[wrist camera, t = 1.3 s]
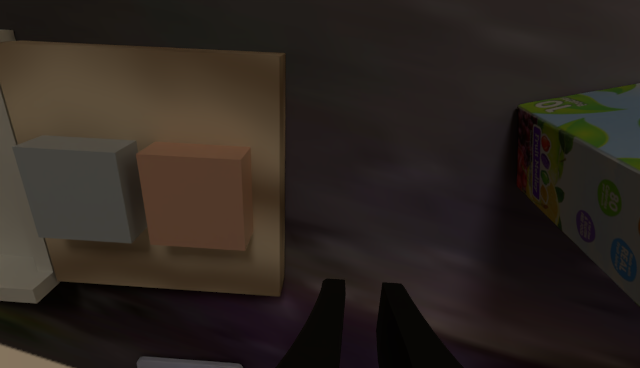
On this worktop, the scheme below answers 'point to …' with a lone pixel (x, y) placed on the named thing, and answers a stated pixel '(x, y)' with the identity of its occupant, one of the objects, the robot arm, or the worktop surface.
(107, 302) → the worktop surface
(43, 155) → the slate tile
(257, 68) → the board
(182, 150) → the terracotta tile
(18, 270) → the tray
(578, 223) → the snack box
